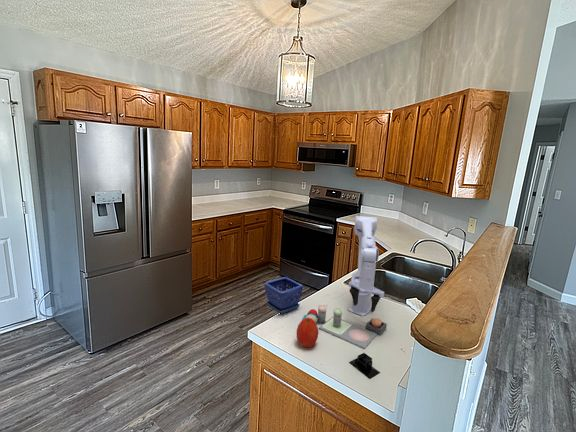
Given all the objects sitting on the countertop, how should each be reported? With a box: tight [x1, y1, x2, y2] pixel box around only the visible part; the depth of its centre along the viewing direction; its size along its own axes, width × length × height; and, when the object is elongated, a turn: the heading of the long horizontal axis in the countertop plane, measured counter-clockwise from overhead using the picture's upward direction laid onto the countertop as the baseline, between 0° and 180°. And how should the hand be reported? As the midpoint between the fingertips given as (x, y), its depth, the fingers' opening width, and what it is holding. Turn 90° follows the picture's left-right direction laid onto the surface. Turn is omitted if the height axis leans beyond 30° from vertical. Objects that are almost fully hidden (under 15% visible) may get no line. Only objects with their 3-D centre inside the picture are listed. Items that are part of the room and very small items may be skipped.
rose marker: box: [317, 304, 327, 325], centre depth 130 cm, size 4×4×7 cm
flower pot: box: [264, 276, 304, 315], centre depth 141 cm, size 13×13×12 cm
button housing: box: [364, 317, 388, 337], centre depth 127 cm, size 6×6×2 cm
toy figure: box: [301, 308, 318, 324], centre depth 128 cm, size 8×5×15 cm
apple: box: [296, 318, 319, 348], centre depth 115 cm, size 8×8×11 cm
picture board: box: [318, 315, 378, 350], centre depth 125 cm, size 12×20×1 cm, turn 52°
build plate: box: [348, 352, 381, 380], centre depth 104 cm, size 12×7×5 cm, turn 35°
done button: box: [371, 317, 383, 328], centre depth 127 cm, size 4×4×2 cm
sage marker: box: [332, 307, 343, 328], centre depth 127 cm, size 4×4×7 cm
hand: (364, 307), depth 125 cm, fingers open, 7 cm apart
